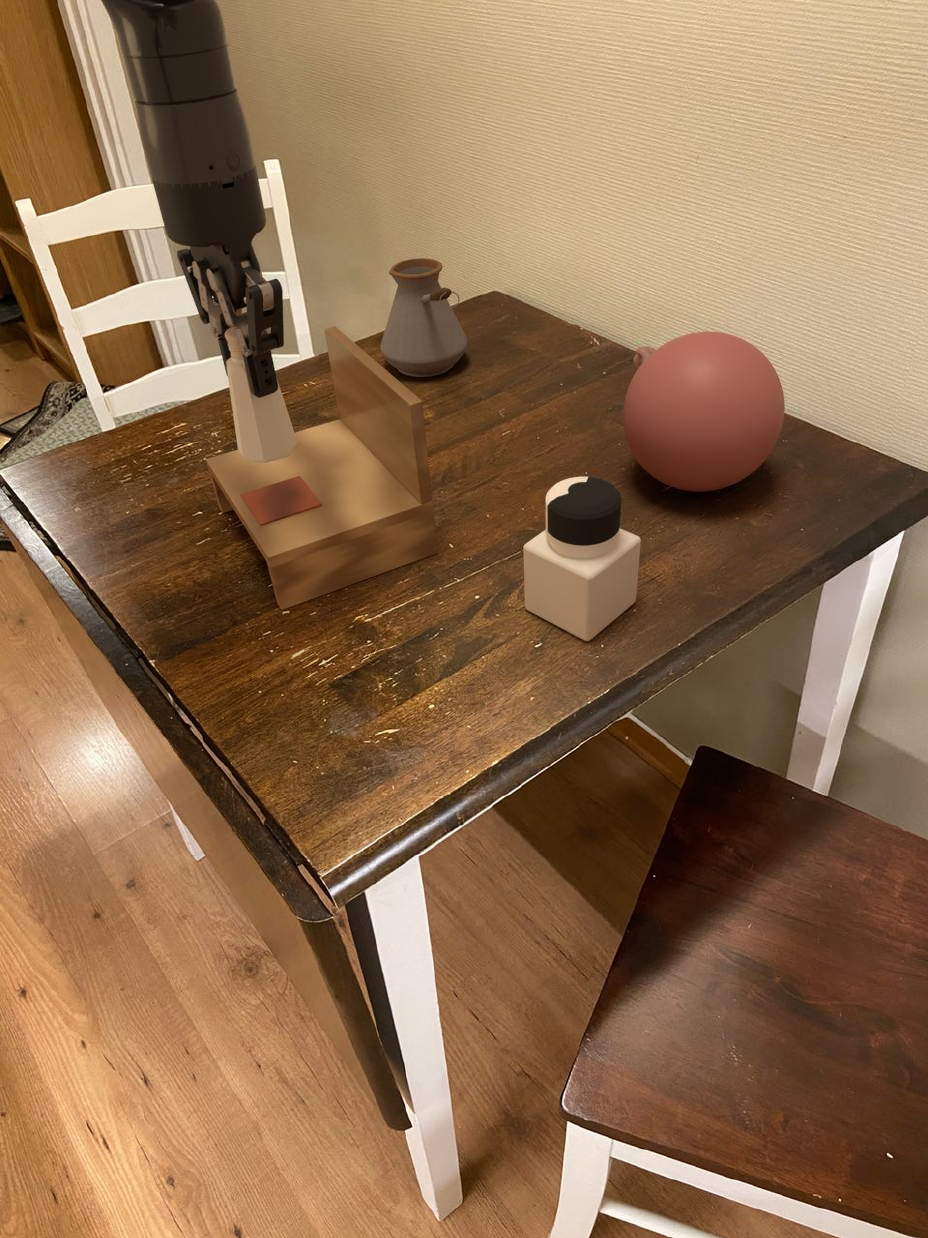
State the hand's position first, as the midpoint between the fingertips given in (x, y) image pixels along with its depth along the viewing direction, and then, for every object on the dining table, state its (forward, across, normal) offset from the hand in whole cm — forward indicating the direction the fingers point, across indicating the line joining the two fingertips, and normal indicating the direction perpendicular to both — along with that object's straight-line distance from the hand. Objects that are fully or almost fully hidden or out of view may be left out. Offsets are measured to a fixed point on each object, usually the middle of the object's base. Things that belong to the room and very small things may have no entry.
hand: (253, 384), depth 75 cm
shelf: (+18, -1, +4) cm, 18 cm away
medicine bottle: (+18, +25, +15) cm, 34 cm away
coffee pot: (+18, -21, +33) cm, 43 cm away
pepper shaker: (+6, 0, 0) cm, 6 cm away
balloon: (+18, +16, +39) cm, 46 cm away
